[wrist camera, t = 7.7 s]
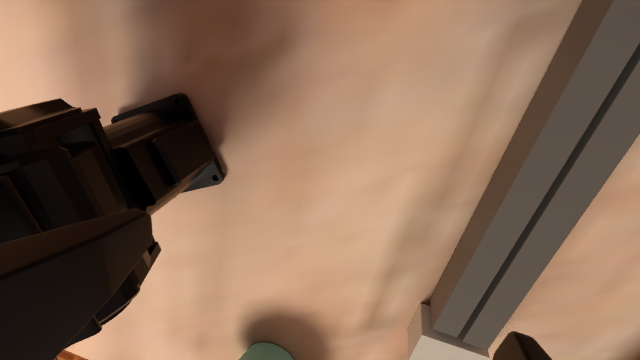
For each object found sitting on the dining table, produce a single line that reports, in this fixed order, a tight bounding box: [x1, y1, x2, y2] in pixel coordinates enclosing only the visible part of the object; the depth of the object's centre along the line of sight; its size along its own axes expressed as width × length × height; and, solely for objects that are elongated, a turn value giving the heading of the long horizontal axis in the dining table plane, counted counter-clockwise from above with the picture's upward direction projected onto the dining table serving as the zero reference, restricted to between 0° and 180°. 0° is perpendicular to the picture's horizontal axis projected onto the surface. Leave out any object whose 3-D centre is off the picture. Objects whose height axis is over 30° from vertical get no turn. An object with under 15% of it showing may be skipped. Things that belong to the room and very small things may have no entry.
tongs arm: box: [430, 0, 640, 337], centre depth 17 cm, size 24×2×3 cm, turn 169°
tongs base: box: [408, 43, 640, 360], centre depth 17 cm, size 28×5×3 cm, turn 169°
